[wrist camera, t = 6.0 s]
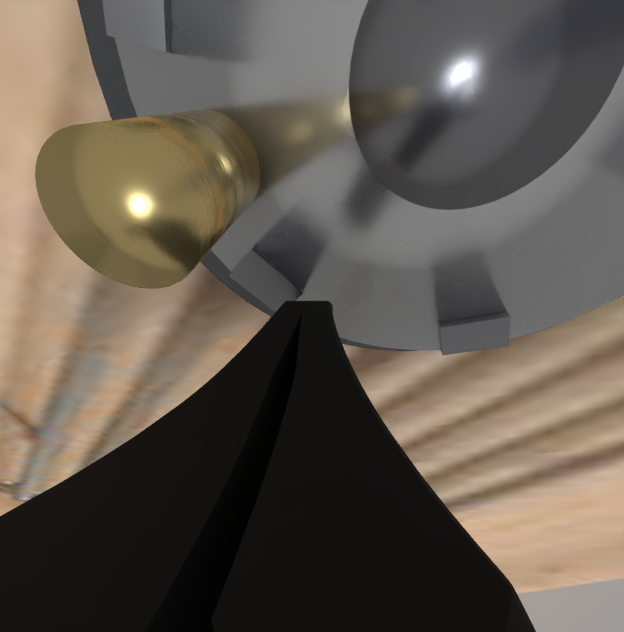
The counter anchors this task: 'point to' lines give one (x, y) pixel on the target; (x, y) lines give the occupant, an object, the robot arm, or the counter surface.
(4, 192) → the counter surface
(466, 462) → the counter surface
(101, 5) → the dark grey flat disc
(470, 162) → the lugged hub disc
